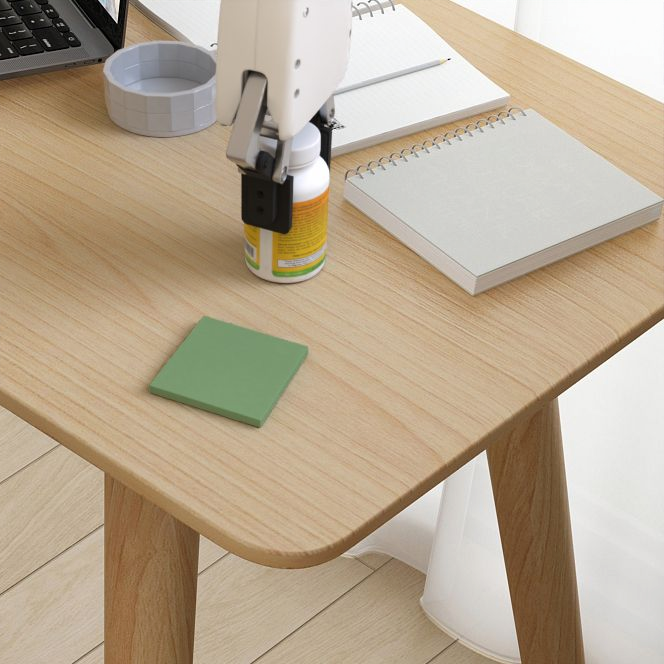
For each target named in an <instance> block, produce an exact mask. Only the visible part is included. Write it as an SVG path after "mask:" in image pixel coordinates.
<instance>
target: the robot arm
mask: <svg viewBox="0 0 664 664" xmlns="http://www.w3.org/2000/svg"><path fill="white" fill-rule="evenodd" d="M353 1H354V0H220V3H219V14H218V23H217V24H218V25H217V42H216V56H217V61H216V118H217V121H216V122H217V123H218V125H220V126H221V127H231V126H232V125H233V126H232V130H231V133H230V136H229V139H228V143H227V146H226V151H225V156H226V159H227V160H228V161H230V162H232V163H233V164H235V165H236V167H237V171H238V172H237V173H239V174H240V195H241V196H240V203H241V204H240V206H241V207H240V210H241V212H240V214H241V219H240V220H241V221H242V222H243V224H244V223H245V224H247V225H251V226H255V227H258V228H262V229H266V230H269V231H273V232H277V233H280V234H287V233H288V232H289V231H290V230H291V228H292V215H293V183H294V176H291V175H287V174H288V168H289V161H290V155H291V148H292V142H293V136H295V135H296V134H298V133H299V132H300V131H301V130H302V129H303V128H304V126H305V125H306V124H307V123H308V122H310V123H312V124H313V125H315V126H316V127H317V128H318V130H319V132H320V135H321V144H320V155H319V156H320V157H321V158H322V159H323V160H324V161H325V162H326V164H327V166H328V169H329V174H330V175H331V164H332V163H331V162H332V144H333V143H332V142H333V127H329V126H331V125H332V124H333V121H334V119H335V115H336V108H335V107H336V106H335V97H334V92H335V91H336V90H337V89H338V87H339V86H340V84H341V83H342V81H343V79H344V78H345V75H346V73H347V71H348V67H349V59H350V52H351V43H352V29H353V27H352V26H353ZM266 116H268V117H271V120H273V123H276V124H278V125H274V124H270V123H266V121H265V118H266ZM259 136H263V137H267V138H271V139H275V140H278V141H277V146H276V153H275V158H274V157H273V156H272V155H271V154H270V153H269V152H266V151H262V150H261V148H260V147H259V145H258V140H259Z"/></svg>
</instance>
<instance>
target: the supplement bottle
mask: <svg viewBox="0 0 664 664" xmlns="http://www.w3.org/2000/svg"><path fill="white" fill-rule="evenodd" d="M265 122H266V123H270V124H274V125H278V124H276V123H273V120H272V119H269V120H266V121H265ZM277 141H278V140H275V139H271V138H267V137H263V136H259V140H258V145H259V147H260V148H261V150H262V151H266V152H269V153H270V154H271V155H272V156H273V157H274V158H275V153H276V146H277ZM320 144H321V135H320V132H319V130H318V128H317V127H316V126H315V125H313V124H312V123H310V122H308V123H307V124H306V125H305V126H304V128H303V129H302V130H301V131H300V132H299V133H298V134H296V135H295V136H293V142H292V148H291V155H290V161H289V168H288V174H287V175H291V176H294V183H293V215H292V228H291V230H290V231H289V232H288V233H287V234H280V233H277V232H273V231H269V230H266V229H262V228H258V227H255V226H251V225H247V224H245V223H244V222H243V251H244V255H243V256H244V261H245V265H246V267H247V268H248V269H249V270H250V272H251V273H253V274H254V275H255V276H256V277H258V278H260V279H263V280H266V281H268V282H273V283H280V284H292V283H299V282H303V281H307V280H309V279H311V278H313V277H315V276H316V275H317V274H319V273H320V272H321V270H322V269H323V268H324V266H325V263H326V257H327V239H328V219H329V200H330V182H331V179H330V178H331V173H330V174H329V169H328V166H327V164H326V162H325V161H324V160H323V159H322V158H321V157H320V156H319V155H320Z"/></svg>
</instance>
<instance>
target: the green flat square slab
mask: <svg viewBox="0 0 664 664" xmlns="http://www.w3.org/2000/svg"><path fill="white" fill-rule="evenodd" d="M308 354H309V346H308V345H304V344H301V343H297V342H295V341H291V340H288V339H284V338H280V337H277V336H274V335H270V334H268V333H264V332H260V331H256V330H254V329H250V328H247V327H244V326H241V325H237V324H233V323H230V322H227V321H224V320H220V319H217V318H214V317H211V316H207V315H203V316H202V317H201V318H200V320H199V321H198V322H197V323H196V325H195V326H194V327H193V328H192V330H191V331H190V333H188V335H187V336H186V338H185V339H184V340H183V341H182V343H181V344H180V345H179V346H178V347H177V348H176V351H174V353H173V354H172V355H171V356H170V358H169V359H168V360H167V362H166V363H165V365H164V366H163V367H162V368H161V370H160V371H159V372H158V373H157V375H156V376H155V377H154V378H153V380H152V381H151V382H150V384H149V385H148V387H149V394H153V395H155V396H159V397H161V398H165V399H168V400H171V401H175V402H178V403H181V404H184V405H187V406H191V407H194V408H197V409H200V410H203V411H206V412H208V413H209V412H210V413H213V414H216V415H219V416H221V417H225V418H228V419H231V420H234V421H238V422H241V423H243V424H246V425H251V426H252V427H253V426H254V427H256V428H261V427H262V426H263V424H264V423H265V421H266V420H267V418H268V417H269V415H270V414H271V412H272V410H273V409H274V407H275V406H276V404H277V403H278V401H279V400H280V398H281V396H282V395H283V393H285V390H286V389H287V388H288V386H289V384H290V383H291V381H292V379H293V378H294V376H295V375H296V373H297V372H298V370H299V369H300V367H301V365H302V364H303V363H304V361H305V360H306V358H307V356H308Z"/></svg>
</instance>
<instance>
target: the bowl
mask: <svg viewBox="0 0 664 664" xmlns="http://www.w3.org/2000/svg"><path fill="white" fill-rule="evenodd" d="M216 61H217V53H214V52H212V51H211V50H209V49H207V48H205V47H204V46H201V45H198V44H193V43H190V42H186V41H181V40H151V41H144V42H137V43H133V44H131V45H128V46H126V47H123V48H120V49H117V50H116V51H115V52H113V53H112V54H111V55H110V56H109V57H108V58H106V59H105V62H104V65H103V69H102V78H103V89H104V100H105V102H104V103H105V106H106V111H107V114H108V117H109V119H110V120H111V121H112V122H113V123H114V124H115V125H116V126H118V127H119V128H121V129H123V130H125V131H127V132H130V133H133V134H137V135H141V136H145V137H153V138H173V137H182V136H187V135H192V134H195V133H198V132H200V131H203V130H205V129H207V128H209V127H211V126H212V125H214V124H215V123H216V122H218V121H217V118H216Z"/></svg>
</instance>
